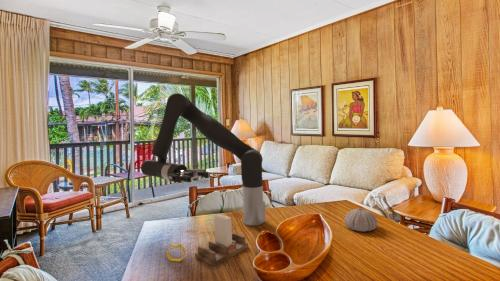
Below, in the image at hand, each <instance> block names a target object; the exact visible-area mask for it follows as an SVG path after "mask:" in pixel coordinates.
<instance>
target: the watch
mask: <svg viewBox="0 0 500 281" xmlns="http://www.w3.org/2000/svg"><path fill="white" fill-rule="evenodd" d="M172 248H174V249H176V248H180V249H181V251H182V252H183V253H182V254H183V255H182V257H181V258H173V257H172V256H171V255H170V249H172ZM166 256H167V259H168V260H170V261H171V262H178V263H180V262H181V261H183V260H184V258H185V256H186V249H185V247H184V245H181V242H178V241H175V242H173V243H172V244H171V245H170V246H169V247H168V249H167V252H166Z"/></svg>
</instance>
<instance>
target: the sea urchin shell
mask: <svg viewBox="0 0 500 281" xmlns="http://www.w3.org/2000/svg"><path fill="white" fill-rule="evenodd" d="M344 224H345V225H346V226H347V228H348V229H350V230H352V231H357V232H370V231H373V230H376V229H377V227H378V219H377V218H376V216H375V215H374V214H373V213H372V212H371V211H369V210H367V209H363V208H354V209H352V210H350V211H348V212H347V213H346V214H345V216H344Z"/></svg>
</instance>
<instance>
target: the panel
mask: <svg viewBox="0 0 500 281" xmlns="http://www.w3.org/2000/svg"><path fill="white" fill-rule="evenodd" d="M232 228H233V227H232V217H231V216H229V215H225V214H221V213H218V214H216V215H214V242H216V243H218V244H221V245H223V246H226V253H228V250H227V247H228V246H229V245H231V244H232V232H233V229H232Z"/></svg>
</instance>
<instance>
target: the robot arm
mask: <svg viewBox="0 0 500 281" xmlns="http://www.w3.org/2000/svg"><path fill="white" fill-rule="evenodd" d="M180 117H182V118H183V119H185V120H186V121H188V122H189V123H191V124H192V125H193V126H194V128H196V130H198V131H199V132H200V134H201V135H203V136H204V137H205V138H206V139H207V140H208V141H210V142H211V143H213V144H214V145H216V146H217V147H219V148H221V149H224V150H226V151H228V152H229V153H231V154H233V155H234V156H236V158H238V159H239V160H240V174H241V181H242V182H241V183H242V185H241V186H242V214H243V216H242V218H243V220H242V221H243V224H244V225H246V226H252V227H255V226H260V225H262V224H263V223H266V202H265V201H264V183H263V182H264V181H263V159H264V158H263V156H262V153H261V152H260V151H258V149H255V148H253V147H252V146H251V145H249V144H247V143H245V142H244V141H242V140H241V139H240V138H239V137H238V136H237V135H236V134H235V133H233V132H232V131H231V130H230V129H228V127H226V126H225V125H224V124H222V123H221V122H219V121H218V120H217V119H215V118H214V117H212V116H211V115H209V114H206V113H205V112H203V111H202V110H200V109H199V108H198V107H197V106H196V105H195V104H194V103H193V102H192V101H191V100H190V99H189V98H188V97H187V96H185V95H184V94H182V93H179V92H174V93H172V94H170V95H169V96H168V98H167V100H166V104H165V109H164V113H163V118H162V121H161V124H160V129H159V130H158V131H159V132H158V134H157V137H156V139H155V142H154V144H153V146H152V149H151V154H152V155H153V156H155V157H156V158H157V160H153V159H146V160H144V161H143V162H142V163H141V166H140V171H141V173H142V174H143V175H144V176H147V177H148V176H149V177H153V178H154V177H155V178H160V179H162V180H166V181H169V182H173V183H177V184H181V183H184V182H186V183H191V182H192V179H199V178H204V179H208V178H209V179H210V173H209V172H207V171H206V169H204V168H203V169H202V168H194V169H191V168H188V167H187V166H186V165H185V164H180V163H175V162H167V161H168V160H167V159H168V154H169V152H170V149H171V146H172V143H173V141H174V140H173V139H174V135H175V129H176V125H177V123H178V121H179V118H180Z"/></svg>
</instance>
